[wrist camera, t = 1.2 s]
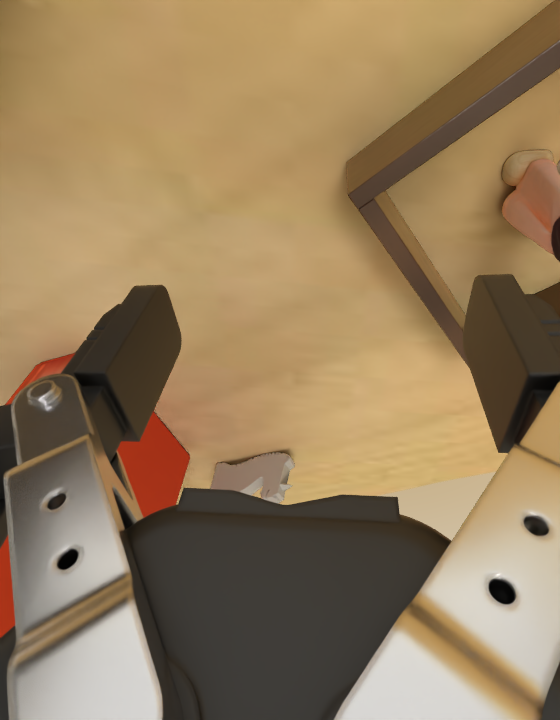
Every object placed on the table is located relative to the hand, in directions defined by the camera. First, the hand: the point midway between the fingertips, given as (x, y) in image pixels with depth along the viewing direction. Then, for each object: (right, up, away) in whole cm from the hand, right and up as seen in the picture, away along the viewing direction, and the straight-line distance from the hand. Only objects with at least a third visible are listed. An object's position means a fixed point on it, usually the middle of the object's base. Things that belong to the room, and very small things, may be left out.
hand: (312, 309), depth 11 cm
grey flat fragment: (-4, -13, +37) cm, 39 cm away
